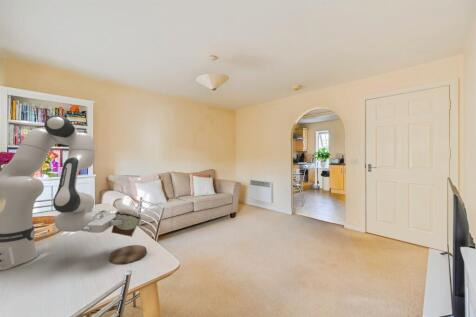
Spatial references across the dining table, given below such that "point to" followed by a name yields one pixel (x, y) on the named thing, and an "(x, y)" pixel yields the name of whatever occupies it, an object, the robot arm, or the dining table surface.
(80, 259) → the dining table surface
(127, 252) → the walnut trivet
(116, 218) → the food container
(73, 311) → the dining table surface
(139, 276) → the dining table surface
